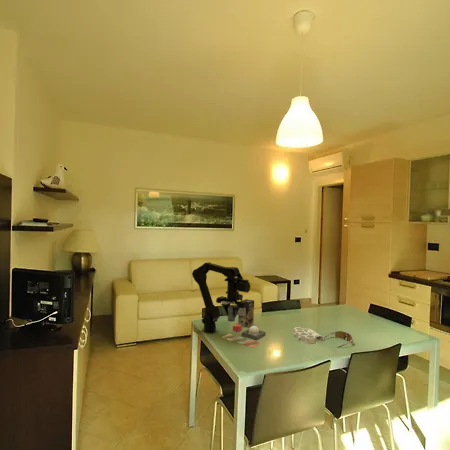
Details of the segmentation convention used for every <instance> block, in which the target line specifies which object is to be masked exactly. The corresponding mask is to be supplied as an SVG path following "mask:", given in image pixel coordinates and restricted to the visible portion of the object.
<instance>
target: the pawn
mask: <svg viewBox="0 0 450 450" xmlns="http://www.w3.org/2000/svg"><path fill="white" fill-rule="evenodd" d="M234 306H235V305H234V304H230V306H229V307H228V316H227V321H228V322H230V323H231V322H232V323H233V322H235V321H236V318H234V316H233V307H234Z"/></svg>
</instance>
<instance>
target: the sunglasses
mask: <svg viewBox="0 0 450 450" xmlns="http://www.w3.org/2000/svg"><path fill="white" fill-rule="evenodd" d="M330 335H334V338H336V339H341V340H347V342H346V343H343V344H341V345H339V346H337V347H336V349H338V348H339V349H340V348H341V347H344V346H347V345H348V344H350V345H353V344H354V337H353V335H352V334H351V333H350V332H348V331H345V330H335V331H332V332H330V333H328V334H326V335H325V336H323V339H322V342H324V340H325V338H327V337H328V336H330Z"/></svg>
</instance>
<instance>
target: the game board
mask: <svg viewBox="0 0 450 450" xmlns="http://www.w3.org/2000/svg"><path fill="white" fill-rule="evenodd" d="M220 338H221V339H224V340H228V341H231V342H233V343H237V344H240V345H243V346H246V347H249V348H255V347H257V346H258V345H260V344H261V341H260V342H259V341H257V340H254V339H250V338H247V337H244V336H238V335H236V334H233V333H227V334H225V335H223V336H221V337H220Z"/></svg>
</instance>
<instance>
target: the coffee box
mask: <svg viewBox="0 0 450 450" xmlns="http://www.w3.org/2000/svg"><path fill="white" fill-rule="evenodd" d="M242 300H243V299H242ZM243 301H247V302H248V307H246V308H239V310H238V317H237V318H238V320H237V321H238V322H237V324H239V325H242V328H248V329H249V328H250V327H251V326H254V322H255V321H254V320H255V319H254V317H255V300H252V299H247V298H246V299H244V300H243Z"/></svg>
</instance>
